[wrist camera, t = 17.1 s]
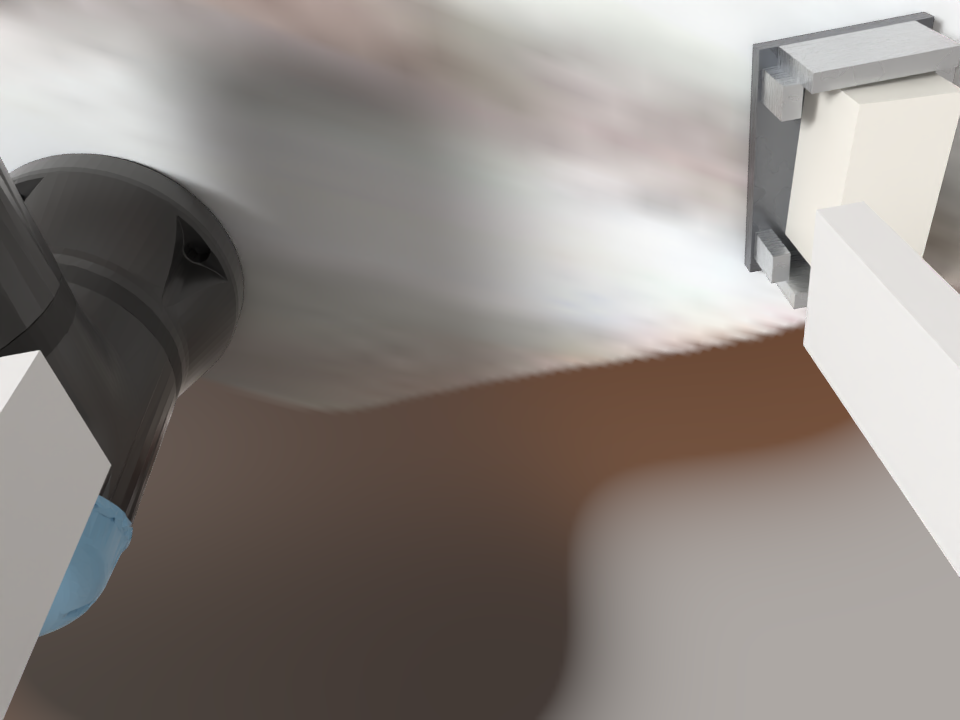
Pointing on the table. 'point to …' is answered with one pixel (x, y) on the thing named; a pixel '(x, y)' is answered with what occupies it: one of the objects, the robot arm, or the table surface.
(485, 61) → the table surface
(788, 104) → the mount
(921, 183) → the cream rectangular block
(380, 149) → the table surface
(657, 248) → the table surface
